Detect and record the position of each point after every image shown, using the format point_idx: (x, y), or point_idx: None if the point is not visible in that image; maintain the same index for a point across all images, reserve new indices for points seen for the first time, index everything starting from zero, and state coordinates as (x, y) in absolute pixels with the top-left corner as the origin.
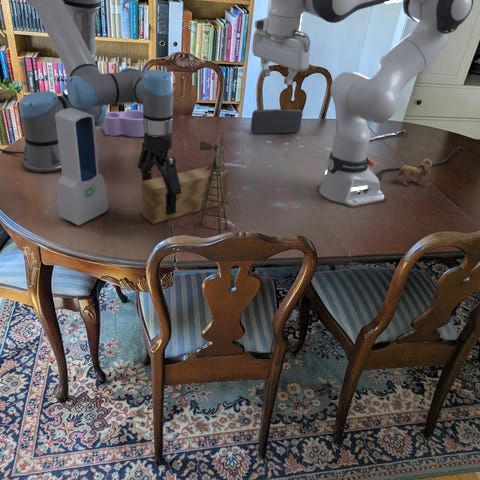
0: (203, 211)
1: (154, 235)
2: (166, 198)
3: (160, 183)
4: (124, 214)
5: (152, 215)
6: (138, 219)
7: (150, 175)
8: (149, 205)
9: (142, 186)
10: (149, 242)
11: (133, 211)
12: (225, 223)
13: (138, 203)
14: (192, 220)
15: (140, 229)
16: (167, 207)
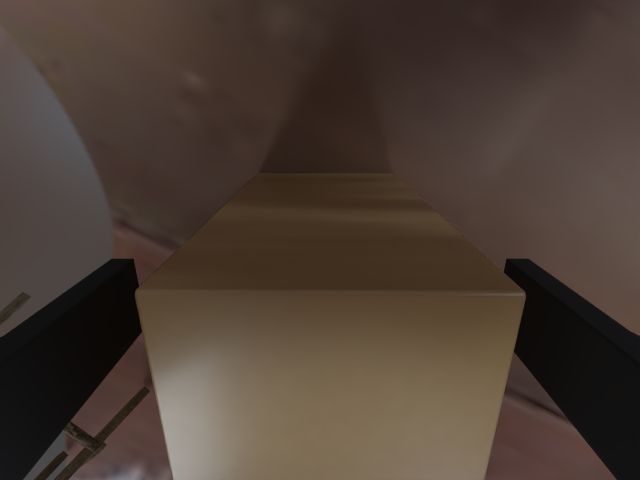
0: (65, 468)
1: (123, 113)
2: (3, 352)
3: (293, 476)
4: (469, 60)
5: (246, 185)
6: (354, 118)
7: (626, 471)
8: (283, 201)
9: (465, 255)
10: (49, 36)
11: (466, 140)
12: (36, 478)
13: (535, 220)
14: None
15: (229, 64)
16: (64, 294)
